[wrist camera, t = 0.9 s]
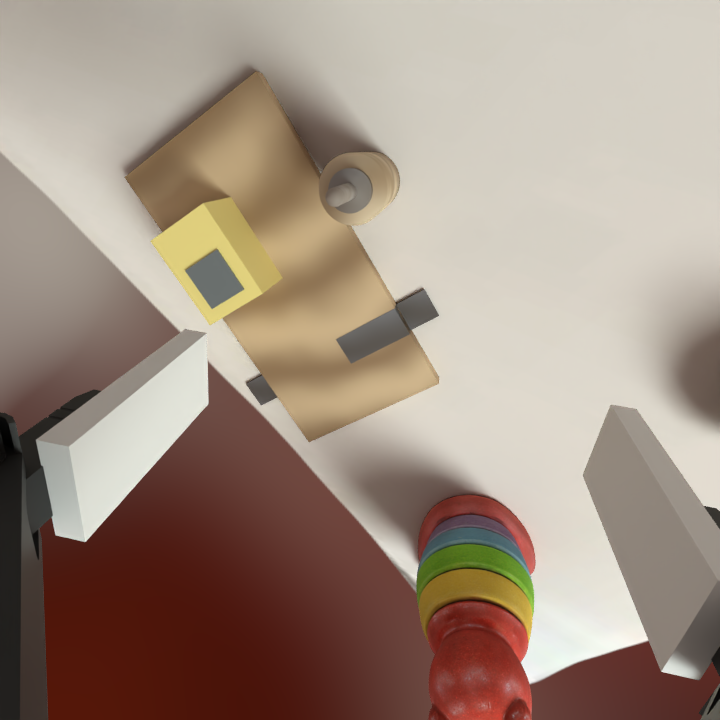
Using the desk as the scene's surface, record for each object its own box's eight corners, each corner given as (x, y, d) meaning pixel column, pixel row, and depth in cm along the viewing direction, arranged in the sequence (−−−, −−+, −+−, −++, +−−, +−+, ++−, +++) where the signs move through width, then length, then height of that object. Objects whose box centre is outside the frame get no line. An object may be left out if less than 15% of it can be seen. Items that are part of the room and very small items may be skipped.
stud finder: (182, 231, 38) (149, 241, 34) (230, 197, 36) (202, 203, 32) (234, 307, 40) (209, 325, 36) (282, 278, 38) (262, 294, 34)
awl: (335, 171, 36) (276, 182, 24) (382, 140, 34) (345, 135, 22) (363, 220, 37) (320, 255, 25) (409, 192, 35) (389, 213, 23)
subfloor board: (112, 193, 39) (102, 194, 38) (290, 50, 33) (285, 47, 32) (290, 444, 46) (286, 452, 45) (466, 364, 40) (466, 371, 39)
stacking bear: (426, 578, 49) (415, 785, 33) (403, 498, 46) (378, 685, 30) (537, 571, 47) (583, 793, 31) (522, 485, 43) (565, 684, 27)
